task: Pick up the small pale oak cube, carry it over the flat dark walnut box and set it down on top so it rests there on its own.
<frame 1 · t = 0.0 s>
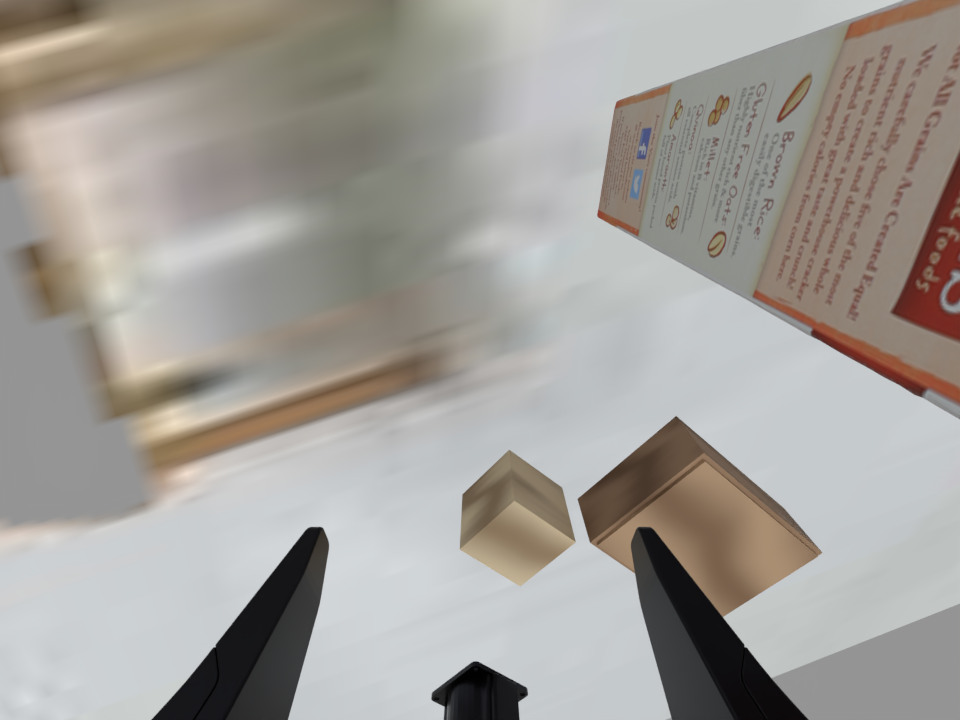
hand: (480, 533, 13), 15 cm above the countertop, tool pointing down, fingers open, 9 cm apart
walnut box: (681, 503, 32), on the countertop
oak cube: (512, 490, 32), on the countertop
cracker box: (734, 172, 24), on the countertop
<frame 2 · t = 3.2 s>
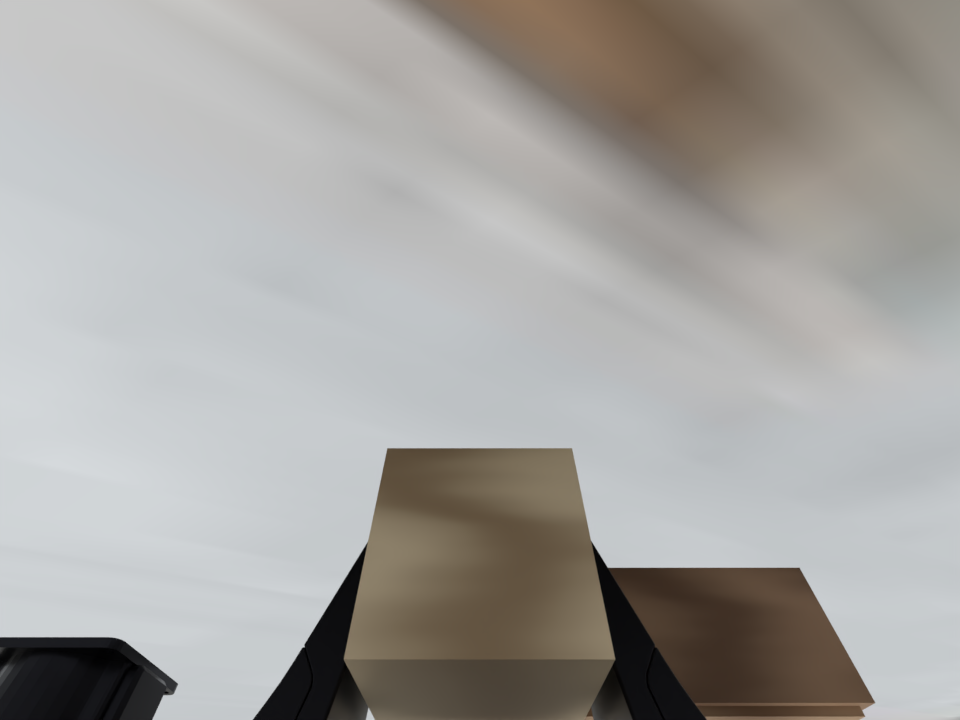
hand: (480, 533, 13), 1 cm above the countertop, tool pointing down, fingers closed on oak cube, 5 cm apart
walnut box: (638, 634, 20), on the countertop
oak cube: (479, 502, 14), on the countertop, touching gripper
when the fingers open (6 cm above the countertop, at t = 7.2 s): oak cube stays where it is, resting on walnut box.
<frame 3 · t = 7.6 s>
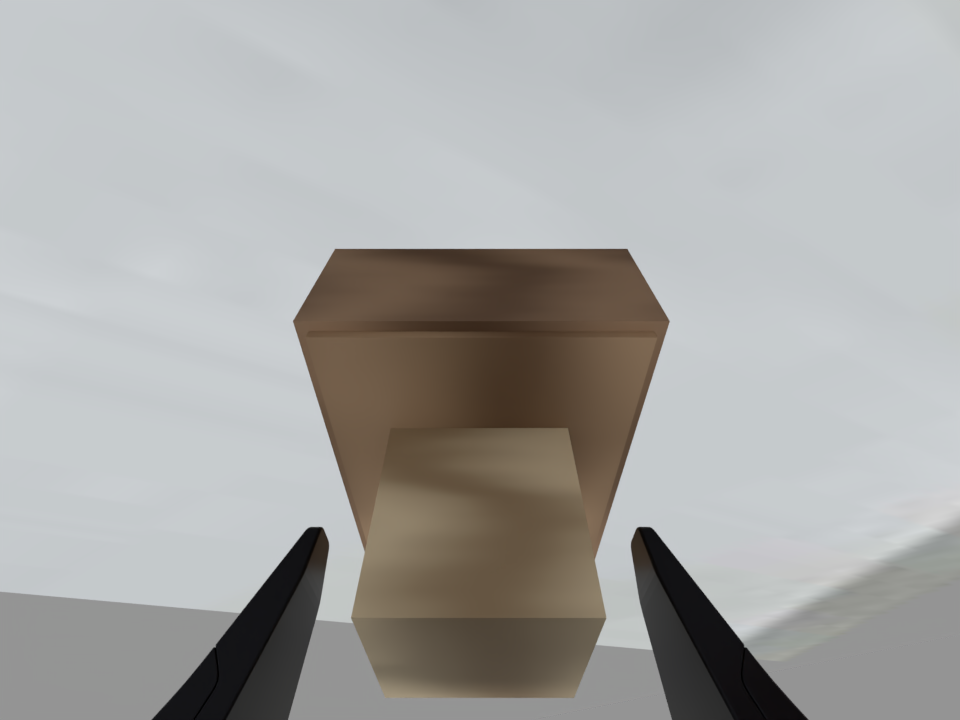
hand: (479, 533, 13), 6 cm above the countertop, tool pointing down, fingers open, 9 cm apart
walnut box: (481, 392, 18), on the countertop
oak cube: (479, 482, 14), point 4 cm above the countertop, touching walnut box
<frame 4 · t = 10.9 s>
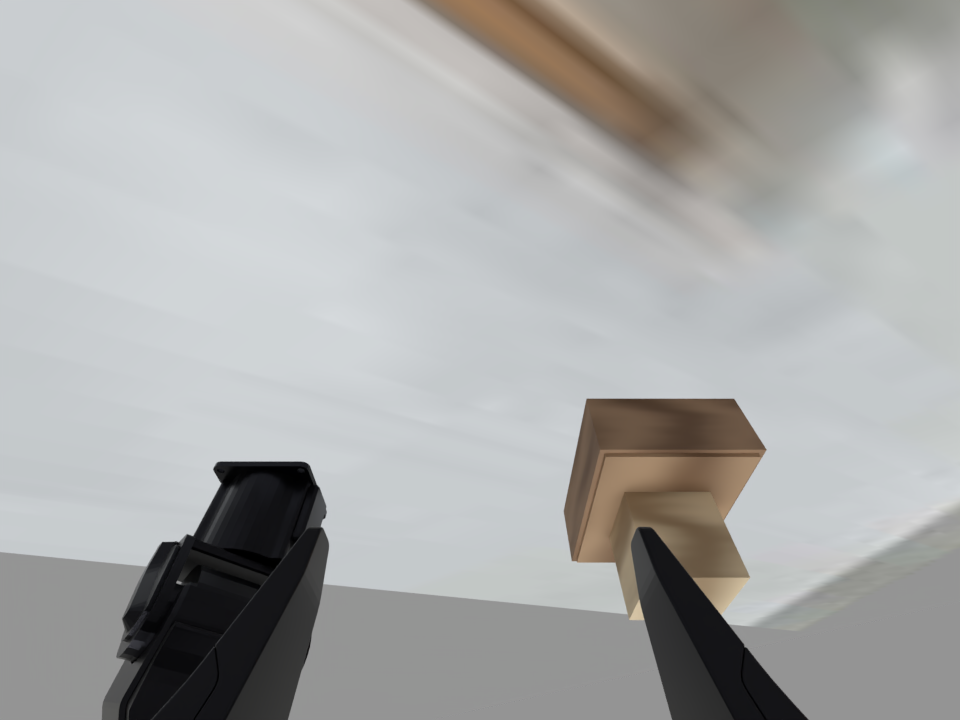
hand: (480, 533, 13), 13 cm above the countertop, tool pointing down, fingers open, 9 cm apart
walnut box: (638, 461, 31), on the countertop
oak cube: (656, 516, 28), point 4 cm above the countertop, touching walnut box
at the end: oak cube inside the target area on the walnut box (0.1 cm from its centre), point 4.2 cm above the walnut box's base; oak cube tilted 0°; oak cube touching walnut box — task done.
